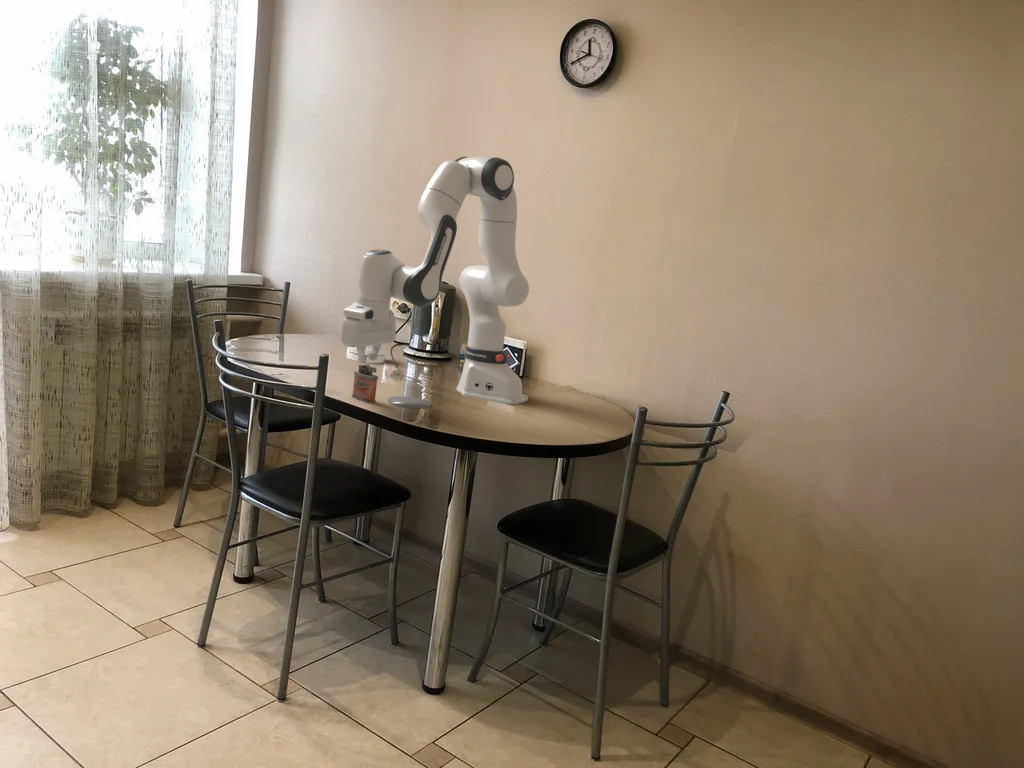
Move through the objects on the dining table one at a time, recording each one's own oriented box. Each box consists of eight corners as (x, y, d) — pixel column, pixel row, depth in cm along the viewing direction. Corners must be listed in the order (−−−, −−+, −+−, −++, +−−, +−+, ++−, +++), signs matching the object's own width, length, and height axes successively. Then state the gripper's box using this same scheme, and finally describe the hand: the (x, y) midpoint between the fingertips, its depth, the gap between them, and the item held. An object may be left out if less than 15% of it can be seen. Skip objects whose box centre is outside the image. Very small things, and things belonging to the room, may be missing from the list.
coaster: (438, 406, 224) (439, 403, 224) (415, 412, 214) (416, 409, 213) (403, 397, 229) (403, 394, 229) (379, 402, 218) (379, 399, 218)
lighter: (348, 397, 219) (352, 362, 217) (357, 396, 222) (361, 361, 220) (369, 404, 215) (373, 368, 213) (378, 403, 218) (382, 367, 216)
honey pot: (371, 358, 283) (377, 308, 280) (390, 366, 274) (396, 314, 270) (339, 358, 275) (344, 306, 271) (357, 366, 265) (363, 312, 262)
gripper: (384, 307, 224) (380, 355, 227) (339, 309, 206) (334, 362, 209) (403, 311, 222) (398, 359, 224) (359, 314, 203) (354, 366, 206)
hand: (367, 361), depth 216 cm, fingers open, 3 cm apart
